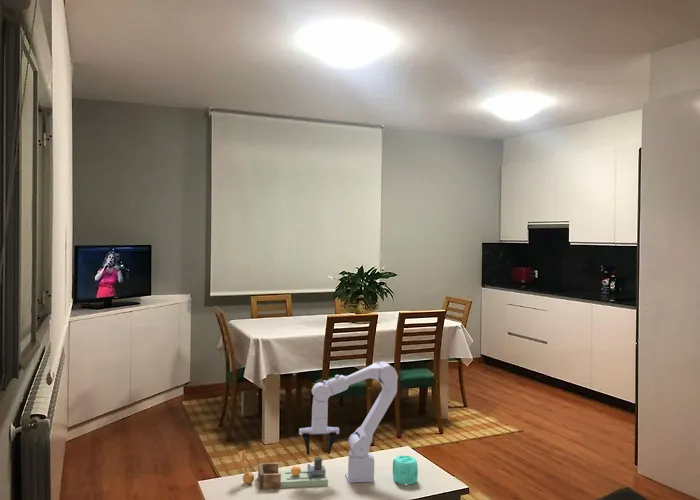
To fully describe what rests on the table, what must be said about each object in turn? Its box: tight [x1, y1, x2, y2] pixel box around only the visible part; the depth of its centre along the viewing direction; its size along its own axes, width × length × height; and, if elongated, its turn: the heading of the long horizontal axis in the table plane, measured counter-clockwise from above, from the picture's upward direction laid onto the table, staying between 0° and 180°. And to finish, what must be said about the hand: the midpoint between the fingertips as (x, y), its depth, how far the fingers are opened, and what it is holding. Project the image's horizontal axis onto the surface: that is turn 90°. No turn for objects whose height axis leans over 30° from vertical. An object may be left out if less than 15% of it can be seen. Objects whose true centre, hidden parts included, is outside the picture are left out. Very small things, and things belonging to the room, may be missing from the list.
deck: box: [278, 469, 329, 489], centre depth 213 cm, size 17×10×2 cm, turn 102°
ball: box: [290, 465, 302, 476], centre depth 213 cm, size 4×4×4 cm
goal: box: [257, 461, 281, 491], centre depth 211 cm, size 7×11×5 cm, turn 12°
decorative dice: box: [392, 455, 419, 485], centre depth 217 cm, size 8×8×8 cm
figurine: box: [237, 449, 255, 485], centre depth 209 cm, size 8×6×12 cm
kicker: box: [306, 456, 326, 478], centre depth 214 cm, size 6×7×6 cm
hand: (318, 453), depth 214 cm, fingers open, 7 cm apart
